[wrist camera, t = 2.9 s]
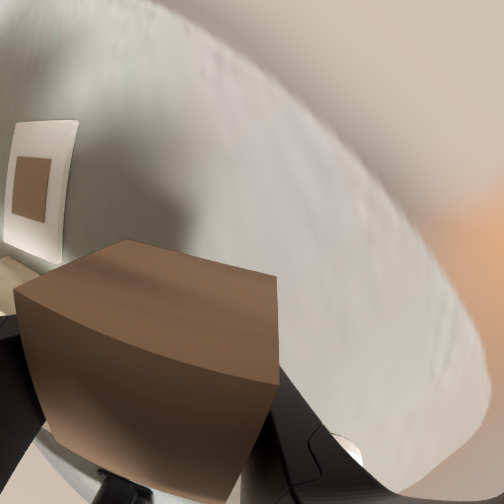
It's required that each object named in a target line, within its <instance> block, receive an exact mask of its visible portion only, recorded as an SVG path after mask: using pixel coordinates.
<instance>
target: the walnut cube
mask: <svg viewBox="0 0 504 504" xmlns="http://www.w3.org/2000/svg"><path fill="white" fill-rule="evenodd" d="M13 295H14V302H15V309H16V315H17V321H18V326H19V331H20V336H21V341H22V345H23V349H24V354H25V357H26V361H27V365H28V368H29V372H30V375H31V379H32V382H33V385H34V388H35V391H36V394H37V397H38V399H39V402H40V405H41V408H42V410H43V413H44V415H45V418H46V420H47V422H48V425H49V427H50V429H51V432H52V434H53V436H54V438H55V440H56V442H57V443H59V444H61V445H62V446H64V447H66V448H67V449H69V450H71V451H72V452H74V453H76V454H78V455H79V456H81V457H83V458H85V459H87V460H89V461H91V462H92V463H94V464H96V465H98V466H100V467H103V468H105V469H107V470H109V471H111V472H113V473H115V474H118V475H120V476H122V477H125V478H127V479H129V480H132V481H134V482H137V483H140V484H142V485H145V486H148V487H151V488H153V489H156V490H159V491H162V492H166V493H169V494H172V495H175V496H179V497H182V498H186V499H190V500H194V501H198V502H202V503H207V504H225V503H226V502H227V500H228V498H229V496H230V494H231V492H232V490H233V488H234V486H235V484H236V482H237V480H238V478H239V476H240V474H241V472H242V470H243V468H244V466H245V464H246V462H247V460H248V457H249V455H250V453H251V451H252V449H253V447H254V444H255V442H256V440H257V438H258V435H259V433H260V431H261V429H262V426H263V424H264V422H265V419H266V417H267V415H268V412H269V410H270V408H271V405H272V403H273V400H274V398H275V395H276V393H277V390H278V388H279V385H280V384H279V337H278V305H277V279H276V276H272V275H268V274H264V273H259V272H255V271H251V270H247V269H243V268H239V267H235V266H230V265H226V264H222V263H218V262H214V261H210V260H206V259H202V258H198V257H194V256H190V255H186V254H182V253H178V252H175V251H171V250H167V249H163V248H159V247H155V246H151V245H147V244H144V243H140V242H136V241H132V240H128V239H126V240H123V241H121V242H118V243H116V244H113V245H111V246H108V247H106V248H103V249H101V250H98V251H96V252H93V253H91V254H89V255H86V256H84V257H82V258H79V259H77V260H74V261H72V262H70V263H68V264H65V265H63V266H61V267H58V268H56V269H54V270H52V271H50V272H47V273H45V274H43V275H41V276H39V277H36V278H34V279H32V280H30V281H28V282H26V283H24V284H22V285H20V286H18V287H15V288H13Z"/></svg>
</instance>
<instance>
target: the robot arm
mask: <svg viewBox="0 0 504 504" xmlns="http://www.w3.org/2000/svg"><path fill="white" fill-rule="evenodd" d="M279 384H280V385H279V388H278V390H277V393H276V395H275V398H274V400H273V403H272V405H271V408H270V410H269V412H268V415H267V417H266V419H265V422H264V424H263V426H262V429H261V431H260V433H259V435H258V438H257V440H256V442H255V444H254V447H253V449H252V451H251V453H250V455H249V457H248V460H247V462H246V464H245V466H244V468H243V470H242V472H241V486H240V504H504V493H502V494H500V495H499V496H497V497H494V498H491V499H488V500H481V501H443V500H430V499H421V498H413V497H407V496H402V495H399V494H396V493H394V492H392V491H390V490H389V489H387V488H386V487H384V486H383V485H382V484H381V483H380V482H379V481H377V480H376V479H375V478H374V477H373V476H372V475H371V474H370V473H369V472H368V471H366V470H365V469H364V468H363V467H362V466H361V465H360V464H359V463H358V462H357V461H356V460H355V459H354V458H353V457H352V456H351V455H350V454H349V453H348V452H347V451H346V450H345V449H344V448H343V447H342V446H341V445H340V444H339V443H338V441H337V440H336V439H335V438H334V437H333V435H332V434H331V433H330V432H329V430H328V429H327V428H326V427H325V425H324V424H322V422H321V420H320V419H319V418H318V416H317V415H316V414H315V413H314V411H313V410H312V409H311V407H310V406H309V405H308V403H307V402H306V401H305V399H304V398H303V397H302V395H301V394H300V393H299V391H298V390H297V389H296V387H295V386H294V384H293V383H292V382H291V380H290V379H289V378H288V376H287V375H286V374H285V372H284V371H283V369H282V368H281V367H280V365H279ZM45 422H46V418H45V415H44V413H43V410H42V408H41V405H40V402H39V399H38V397H37V394H36V391H35V388H34V385H33V382H32V379H31V375H30V372H29V368H28V365H27V361H26V357H25V354H24V349H23V345H22V341H21V336H20V331H19V326H18V321H17V315H16V314H13V315H10V316H9V315H5V316H0V494H1V492H2V491H3V489H4V487H5V485H6V484H7V482H8V480H9V478H10V477H11V475H12V473H13V472H14V470H15V468H16V467H17V465H18V463H19V462H20V460H21V458H22V457H23V455H24V454H25V452H26V450H27V449H28V447H29V446H30V444H31V443H32V441H33V440H34V438H35V437H36V435H37V434H38V432H39V431H40V429H41V428H42V426H43V425H44V423H45ZM97 474H98V476H99V478H100V481H101V483H102V485H101V487H100V489H99V490H98V492H97V494H96V496H95V498H94V500H93V502H92V504H154V498H153V492H152V491H150V490H148V489H145V488H142V487H140V486H137V485H134V484H132V483H129V482H127V481H125V480H122V479H120V478H118V477H115V476H113V475H111V474H109V473H107V472H104V471H102V470H100V469H98V470H97Z"/></svg>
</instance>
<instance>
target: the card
mask: <svg viewBox="0 0 504 504" xmlns="http://www.w3.org/2000/svg"><path fill="white" fill-rule="evenodd" d="M78 125H79V121H77V120H48V121H31V122H19V123H16V126H15V130H14V135H13V140H12V145H11V151H10V157H9V163H8V171H7V179H6V189H5V203H4V242H5V243H7V244H10V245H12V246H14V247H16V248H19V249H21V250H23V251H25V252H28V253H30V254H32V255H35V256H37V257H39V258H42V259H44V260H47V261H49V262H52V263H54V264H59V263H62V240H63V222H64V210H65V200H66V191H67V183H68V176H69V170H70V164H71V158H72V153H73V148H74V143H75V138H76V134H77V129H78Z"/></svg>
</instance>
